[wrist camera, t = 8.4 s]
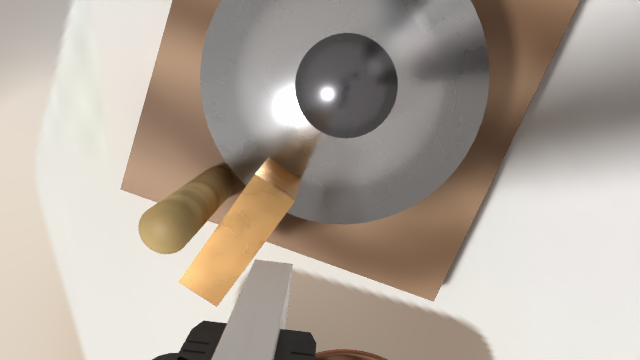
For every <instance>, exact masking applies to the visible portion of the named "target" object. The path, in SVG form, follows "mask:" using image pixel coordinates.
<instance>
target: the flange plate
mask: <svg viewBox="0 0 640 360" xmlns="http://www.w3.org/2000/svg"><path fill="white" fill-rule="evenodd" d="M200 89H201V97H202V104H203V110H204V114H205V117H206V121H207V124H208V128H209V130H210V133H211V135H212V137H213V140H214V142H215V144H216V146H217V148H218V150H219V151H220V153H221V155H222V157H223V158H224V160H225V162H226V163H227V164H228V166H229V167H230V168H231V169H232V171H233V172H234V173H235V175H236V176H237V177H238V178H239V179H240V180H241V181H242V182H243V183H244V184H245V185H246V187H245V189H244V190H243V192H242V193H241V194H240V196H239V197H238V199H237V200H236V201H235V203H234V204H233V206H232V207H231V208H230V210H229V211H228V213H227V214H226V216H225V217H224V218H223V220H222V221H221V223H220V224H219V225H218V227H217V228H216V230H215V231H214V232H213V234H212V235H211V237H210V238H209V240H208V241H207V242H206V244H205V245H204V247H203V248H202V249H201V251H200V252H199V254H198V255H197V256H196V258H195V259H194V261H193V262H192V264H191V265H190V266H189V268H188V269H187V271H186V272H185V273H184V275H183V276H182V278H181V279H180V280H179V283H181V284H182V285H184V286H185V287H187V288H188V289H190V290H192V291H193V292H195V293H196V294H198V295H199V296H201V297H202V298H204V299H206V300H207V301H209V302H210V303H212V304H213V305H215V306H216V307H217V306H218V304H219V303H220V302H221V300H222V299H223V298H224V296H225V295H226V294H227V292H228V291H229V290H230V288H231V287H232V286H233V284H234V283H235V282H236V280H237V279H238V278H239V276H240V275H241V274H242V272H243V271H244V269H245V268H246V267H247V265H248V264H249V263H250V261H251V260H252V259H253V257H254V256H255V255H256V253H257V252H258V251H259V249H260V248H261V247H262V245H263V244H264V243H265V241H266V240H267V239H268V237H269V236H270V235H271V233H272V232H273V230H274V229H275V228H276V226H277V225H278V224H279V222H280V221H281V220H282V218H283V217H284V216H285V214H286V213H289V214H291V215H293V216H296V217H300V218H303V219H306V220H310V221H315V222H321V223H327V224H345V225H346V224H358V223H366V222H371V221H375V220H380V219H383V218H386V217H389V216H392V215H395V214H398V213H400V212H402V211H404V210H406V209H408V208H410V207H412V206H414V205H415V204H417V203H419V202H420V201H422V200H423V199H425V198H426V197H428V196H429V195H430V194H431V193H433V192H434V191H435V190H436V189H437V188H439V187H440V186H441V185H442V184H443V183H444V182H445V181H446V180H447V179H448V178H449V177H450V176H451V175H452V173H453V172H454V171H455V170H456V169H457V167H458V166H459V165H460V163H461V162H462V160H463V159H464V158H465V156H466V155H467V153H468V151H469V149H470V147H471V145H472V144H473V142H474V140H475V138H476V135H477V133H478V130H479V128H480V125H481V123H482V120H483V116H484V112H485V108H486V104H487V98H488V90H489V57H488V50H487V43H486V39H485V36H484V32H483V28H482V25H481V22H480V20H479V17H478V15H477V13H476V10H475V8H474V6H473V4H472V2H471V1H470V0H221V2H220V3H219V5H218V7H217V9H216V11H215V13H214V15H213V17H212V20H211V23H210V25H209V28H208V31H207V34H206V38H205V42H204V46H203V50H202V58H201V68H200Z"/></svg>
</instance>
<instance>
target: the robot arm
mask: <svg viewBox="0 0 640 360" xmlns="http://www.w3.org/2000/svg"><path fill="white" fill-rule="evenodd" d="M292 265H293V264H287V263H279V262H271V261H263V260H255V261H254V263H253V266H252V268H251V270H250V273H249V275H248V277H247V279H246V282H245V284H244V286H243V289H242V291H241V293H240V295H239V298H238V300H237V302H236V304H235V307H234V309H233V311H232V314H231V316H230V318H229V320H228V323H218V322H210V321H202V322H201V323H200V324H198V325H197V326H196V327H194V328H193V329H192V330H191V332H190V334H189V335H188V337H187V339H186V342H184V344H183V346H182V348H181V350H180V351H179V353H169V354H165V355H161V356H158V357H156V358H154V359H152V360H315V352H316V342H315V340H314V338H313V336H312V335H311V333H309V332H302V331H293V330H285V327H286V319H287V311H288V301H289V292H290V283H291V274H292Z"/></svg>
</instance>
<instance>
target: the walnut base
mask: <svg viewBox="0 0 640 360" xmlns="http://www.w3.org/2000/svg"><path fill="white" fill-rule="evenodd" d="M470 1H471V2H472V4H473V6H474V8H475V10H476V13H477V15H478V17H479V20H480V22H481V25H482V28H483V32H484V36H485V39H486V43H487V50H488V57H489V90H488V98H487V104H486V108H485V112H484V116H483V120H482V123H481V125H480V128H479V130H478V133H477V135H476V138H475V140H474V142H473V144H472V145H471V147H470V149H469V151H468V153H467V155H466V156H465V158H464V159H463V160H462V162H461V163H460V165H459V166H458V167H457V169H456V170H455V171H454V172H453V173H452V175H451V176H450V177H449V178H448V179H447V180H446V181H445V182H444V183H443V184H442V185H441V186H440V187H439V188H437V189H436V190H435V191H434V192H433V193H431V194H430V195H429V196H428V197H426V198H425V199H423V200H422V201H420V202H419V203H417V204H415V205H414V206H412V207H410V208H408V209H406V210H404V211H402V212H400V213H398V214H395V215H392V216H389V217H386V218H383V219H380V220H375V221H371V222H366V223H358V224H346V225H345V224H327V223H321V222H315V221H310V220H306V219H303V218H300V217H296V216H293V215H291V214H289V213H286V214H285V216H284V217H283V218H282V220H281V221H280V222H279V224H278V225H277V226H276V228H275V229H274V230H273V232H272V233H271V235H270V236H269V237H268V239H267V240H266V242H269V243H272V244H275V245H277V246H280V247H283V248H286V249H289V250H291V251H294V252H297V253H300V254H303V255H305V256H308V257H311V258H314V259H316V260H319V261H322V262H325V263H328V264H330V265H333V266H336V267H339V268H342V269H344V270H347V271H350V272H353V273H356V274H358V275H361V276H364V277H367V278H369V279H372V280H375V281H378V282H381V283H383V284H386V285H389V286H392V287H395V288H397V289H400V290H403V291H406V292H408V293H411V294H414V295H417V296H420V297H422V298H425V299H428V300H431V301H434V300H435V298H436V296H437V294H438V291H439V289H440V287H441V285H442V283H443V281H444V279H445V277H446V275H447V273H448V271H449V269H450V267H451V265H452V263H453V261H454V259H455V256H456V254H457V252H458V250H459V248H460V246H461V244H462V242H463V240H464V238H465V236H466V234H467V232H468V230H469V228H470V226H471V224H472V222H473V219H474V217H475V215H476V213H477V211H478V209H479V207H480V205H481V203H482V201H483V199H484V197H485V195H486V193H487V191H488V189H489V187H490V185H491V182H492V180H493V178H494V176H495V174H496V172H497V170H498V168H499V166H500V164H501V162H502V160H503V158H504V156H505V154H506V152H507V150H508V148H509V145H510V143H511V141H512V139H513V137H514V135H515V133H516V131H517V129H518V127H519V125H520V123H521V121H522V119H523V117H524V115H525V113H526V110H527V108H528V106H529V104H530V102H531V100H532V98H533V96H534V94H535V92H536V90H537V88H538V86H539V84H540V82H541V80H542V78H543V76H544V73H545V71H546V69H547V67H548V65H549V63H550V61H551V59H552V57H553V55H554V53H555V51H556V49H557V47H558V45H559V43H560V41H561V39H562V36H563V34H564V32H565V30H566V28H567V26H568V24H569V22H570V20H571V18H572V16H573V14H574V12H575V10H576V8H577V6H578V4H579V1H580V0H470ZM220 2H221V0H173V1H172V5H171V8H170V12H169V15H168V19H167V23H166V26H165V30H164V33H163V37H162V41H161V44H160V48H159V52H158V55H157V59H156V62H155V66H154V70H153V73H152V77H151V80H150V84H149V88H148V91H147V95H146V99H145V102H144V106H143V109H142V113H141V117H140V120H139V124H138V128H137V131H136V135H135V138H134V142H133V146H132V149H131V153H130V156H129V160H128V164H127V167H126V171H125V175H124V178H123V182H122V185H121V190H124V191H127V192H130V193H133V194H135V195H138V196H141V197H144V198H146V199H149V200H152V201H155V202H158V203H157V204H156V205H154V206H153V207H151V208H150V209H148V210H147V211H146V212H145V213H144V214H143V215H142V217H141V219H140V221H139V234H140V237H141V239H142V241H143V242H144V244H145V245H146V246H147V247H148V248H150V249H151V250H153V251H155V252H157V253H161V254H172V253H175V252H178V251H180V250H181V249H182V248H183V247H184V246H185V245H186V244H187V243H188V242H189V241H190V240H191V238H192V237H193V236H194V235H195V234H196V233H197V232H198V231H199V230H200V228H201V227H202V226H203V225H204V224H205V223H206V222H207V221H211V222H213V223H216V224H220V223H221V221H222V220H223V218H224V217H225V216H226V214H227V213H228V211H229V210H230V208H231V207H232V206H233V204H234V203H235V201H236V200H237V199H238V197H239V196H240V194H241V193H242V192H243V190H244V189H245V187H246V185H245V184H244V183H243V182H242V181H241V180H240V179H239V178H238V177H237V176H236V175H235V173H234V172H233V171H232V169H231V168H230V167H229V166H228V164H227V163H226V162H225V160H224V158H223V157H222V155H221V153H220V151H219V150H218V148H217V146H216V144H215V142H214V140H213V137H212V135H211V133H210V130H209V128H208V124H207V121H206V117H205V114H204V110H203V104H202V97H201V89H200V68H201V58H202V50H203V46H204V42H205V38H206V34H207V31H208V28H209V25H210V23H211V20H212V17H213V15H214V13H215V11H216V9H217V7H218V5H219V3H220Z"/></svg>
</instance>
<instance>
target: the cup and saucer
mask: <svg viewBox="0 0 640 360" xmlns="http://www.w3.org/2000/svg"><path fill="white" fill-rule="evenodd" d="M315 360H387V359H385V358H382V357H380V356H377V355H374V354H371V353H367V352H363V351H357V350H329V351H323V352H319V353H315Z"/></svg>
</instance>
